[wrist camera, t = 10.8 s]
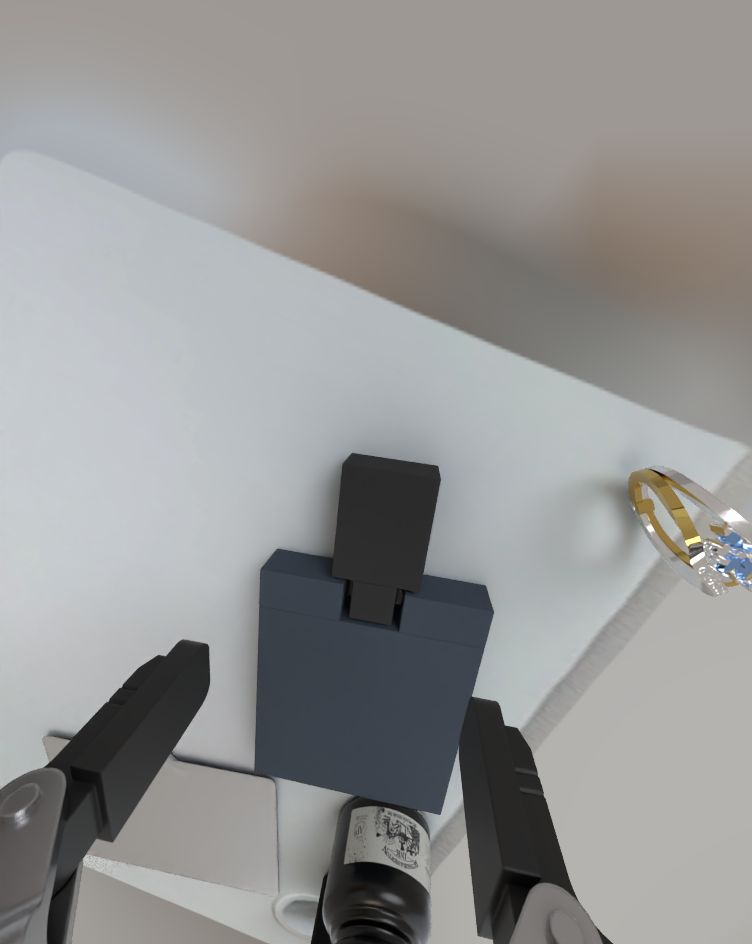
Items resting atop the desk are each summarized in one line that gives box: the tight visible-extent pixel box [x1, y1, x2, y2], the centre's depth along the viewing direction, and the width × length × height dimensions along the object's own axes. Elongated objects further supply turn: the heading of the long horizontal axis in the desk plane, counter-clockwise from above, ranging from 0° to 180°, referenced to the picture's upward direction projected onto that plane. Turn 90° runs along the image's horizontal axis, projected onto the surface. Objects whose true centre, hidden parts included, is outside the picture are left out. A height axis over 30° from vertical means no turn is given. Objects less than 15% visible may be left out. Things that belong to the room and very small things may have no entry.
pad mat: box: [254, 549, 494, 815], centre depth 28 cm, size 20×16×3 cm
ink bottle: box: [323, 797, 432, 944], centre depth 28 cm, size 10×9×12 cm
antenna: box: [43, 736, 279, 897], centre depth 37 cm, size 25×24×1 cm
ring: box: [628, 466, 752, 597], centre depth 19 cm, size 7×3×8 cm, turn 25°
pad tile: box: [332, 453, 441, 625], centre depth 24 cm, size 11×6×3 cm, turn 173°
